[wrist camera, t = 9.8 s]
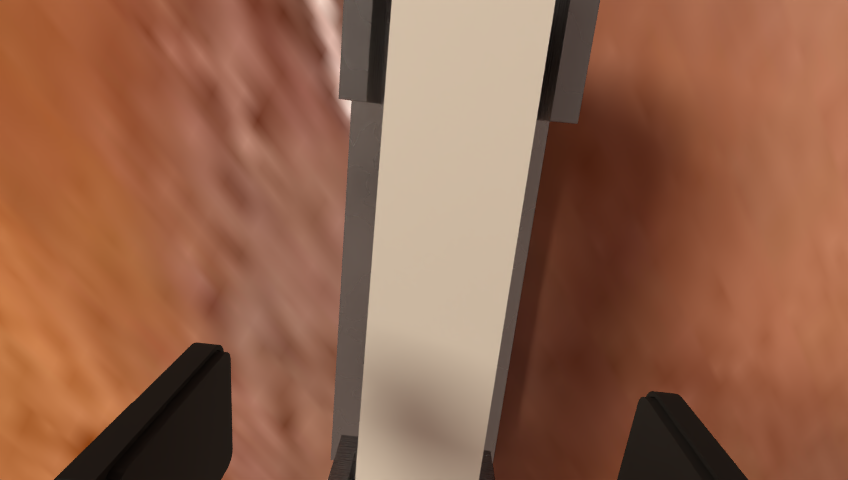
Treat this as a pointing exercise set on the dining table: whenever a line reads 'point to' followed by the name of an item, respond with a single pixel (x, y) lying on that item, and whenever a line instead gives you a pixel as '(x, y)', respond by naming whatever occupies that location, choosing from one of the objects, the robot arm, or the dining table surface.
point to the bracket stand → (366, 91)
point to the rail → (446, 228)
